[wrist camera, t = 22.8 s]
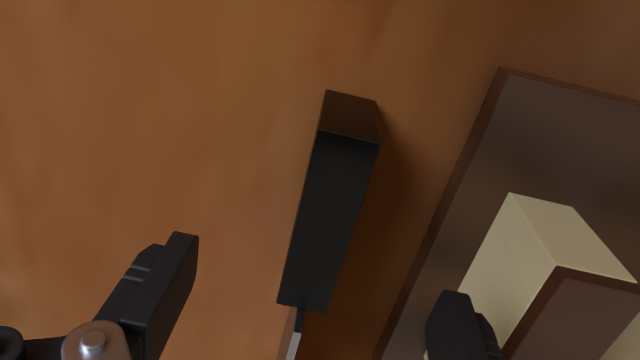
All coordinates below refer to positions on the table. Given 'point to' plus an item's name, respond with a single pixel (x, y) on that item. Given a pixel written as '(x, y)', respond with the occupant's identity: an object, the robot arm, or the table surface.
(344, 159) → the knife
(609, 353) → the cake
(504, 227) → the cake slice
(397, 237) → the table surface
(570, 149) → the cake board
